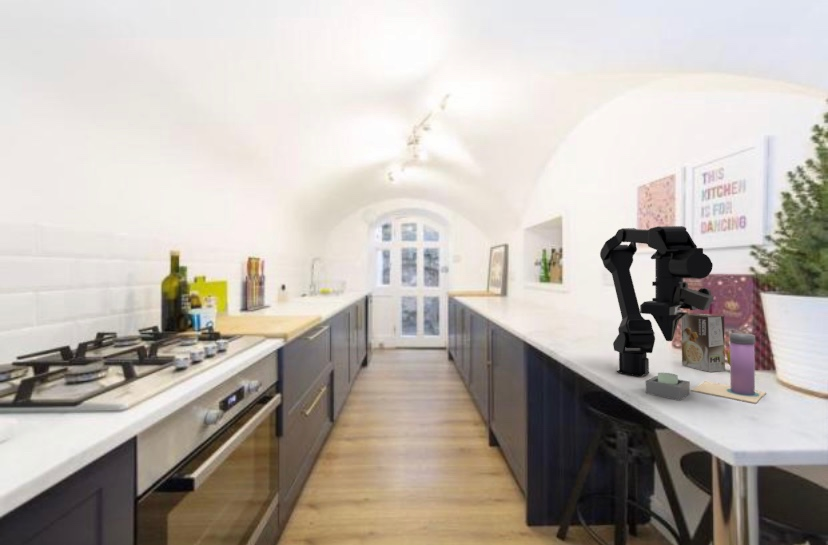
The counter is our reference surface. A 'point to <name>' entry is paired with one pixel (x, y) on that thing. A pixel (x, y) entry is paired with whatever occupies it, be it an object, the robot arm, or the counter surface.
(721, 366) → the coffee box
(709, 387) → the beige coaster
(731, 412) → the counter surface
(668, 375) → the button
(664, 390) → the button housing
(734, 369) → the purple canister
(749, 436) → the counter surface
